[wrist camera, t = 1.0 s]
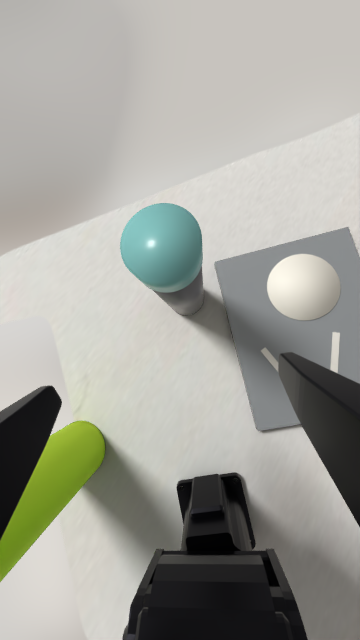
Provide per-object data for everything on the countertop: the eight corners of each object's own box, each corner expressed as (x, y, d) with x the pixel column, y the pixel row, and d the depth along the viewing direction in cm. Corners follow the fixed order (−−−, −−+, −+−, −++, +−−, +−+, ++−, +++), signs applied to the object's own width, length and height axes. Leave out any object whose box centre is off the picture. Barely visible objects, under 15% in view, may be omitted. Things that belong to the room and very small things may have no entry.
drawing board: (404, 402, 19) (413, 405, 18) (255, 427, 20) (258, 431, 19) (342, 231, 21) (348, 226, 20) (214, 264, 23) (214, 261, 22)
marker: (208, 311, 22) (210, 270, 9) (172, 319, 23) (128, 291, 10) (200, 276, 23) (191, 193, 10) (165, 285, 23) (114, 216, 10)
